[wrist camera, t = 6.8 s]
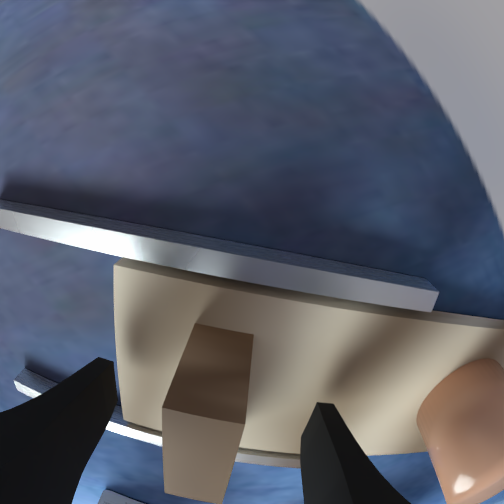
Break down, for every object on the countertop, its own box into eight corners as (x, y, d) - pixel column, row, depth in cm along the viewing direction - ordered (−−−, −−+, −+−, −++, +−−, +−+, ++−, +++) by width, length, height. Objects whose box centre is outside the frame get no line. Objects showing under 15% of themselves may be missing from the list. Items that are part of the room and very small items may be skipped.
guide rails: (425, 278, 11) (439, 292, 10) (339, 452, 14) (342, 469, 13) (-2, 199, 11) (-20, 205, 9) (27, 378, 14) (17, 389, 13)
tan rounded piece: (517, 358, 11) (568, 422, 6) (469, 430, 12) (501, 495, 7) (448, 357, 11) (503, 444, 6) (398, 437, 12) (424, 519, 7)
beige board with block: (530, 323, 11) (585, 377, 6) (461, 434, 14) (489, 493, 9) (125, 255, 11) (46, 324, 6) (130, 406, 13) (93, 484, 9)
